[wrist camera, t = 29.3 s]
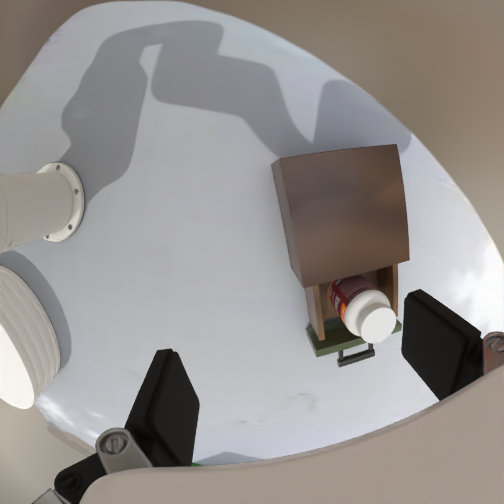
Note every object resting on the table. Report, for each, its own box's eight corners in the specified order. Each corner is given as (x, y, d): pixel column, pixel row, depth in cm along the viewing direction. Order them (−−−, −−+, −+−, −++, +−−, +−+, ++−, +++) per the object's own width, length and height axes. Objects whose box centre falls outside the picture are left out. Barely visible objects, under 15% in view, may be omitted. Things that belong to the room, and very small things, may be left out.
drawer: (382, 336, 42) (399, 355, 36) (309, 358, 42) (319, 382, 36) (379, 232, 37) (401, 241, 31) (293, 252, 37) (303, 265, 31)
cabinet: (381, 245, 39) (409, 260, 31) (291, 267, 39) (303, 288, 31) (368, 149, 35) (396, 144, 27) (270, 164, 35) (279, 158, 27)
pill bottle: (318, 285, 38) (345, 322, 27) (354, 261, 37) (392, 289, 26) (337, 316, 39) (365, 358, 28) (370, 293, 38) (407, 327, 28)
